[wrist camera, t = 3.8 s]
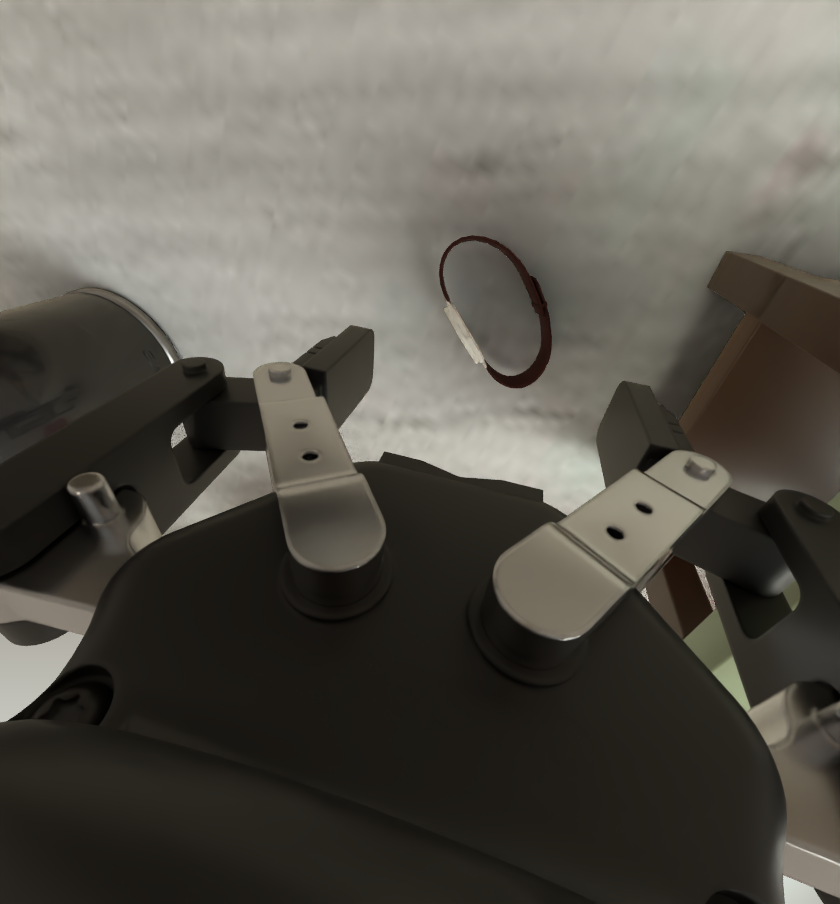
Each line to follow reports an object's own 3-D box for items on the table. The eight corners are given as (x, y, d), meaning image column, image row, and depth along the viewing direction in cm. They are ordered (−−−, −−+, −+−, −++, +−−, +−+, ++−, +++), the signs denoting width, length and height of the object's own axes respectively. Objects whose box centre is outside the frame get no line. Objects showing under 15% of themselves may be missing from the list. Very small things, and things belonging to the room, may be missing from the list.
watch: (420, 264, 20) (401, 279, 17) (504, 203, 18) (498, 210, 15) (492, 386, 23) (486, 417, 20) (572, 348, 20) (578, 377, 18)
